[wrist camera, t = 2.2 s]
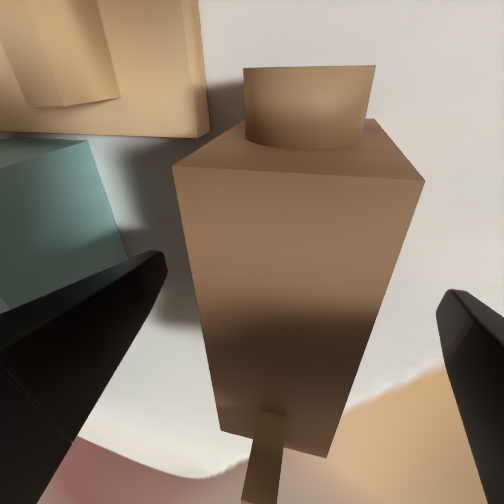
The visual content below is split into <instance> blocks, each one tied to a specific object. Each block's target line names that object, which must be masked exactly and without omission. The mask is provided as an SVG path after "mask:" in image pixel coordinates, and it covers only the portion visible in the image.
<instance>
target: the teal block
mask: <svg viewBox="0 0 504 504" xmlns="http://www.w3.org/2000/svg"><path fill="white" fill-rule="evenodd" d="M126 260H128V257H127V254H126V251H125V248H124V245H123V242H122V239H121V236H120V233H119V230H118V227H117V225H116V222H115V219H114V216H113V213H112V210H111V207H110V204H109V201H108V198H107V195H106V192H105V190H104V187H103V184H102V181H101V178H100V175H99V172H98V169H97V166H96V163H95V160H94V157H93V154H92V152H91V149H90V146H89V143H88V141H84V140H60V139H36V138H12V137H10V138H6V139H1V140H0V314H1V313H3V312H6V311H8V310H11V309H13V308H16V307H18V306H20V305H23V304H25V303H28V302H30V301H32V300H35V299H37V298H39V297H42V296H45V295H47V294H49V293H51V292H54V291H56V290H58V289H61V288H63V287H65V286H68V285H70V284H72V283H75V282H77V281H79V280H81V279H84V278H86V277H88V276H91V275H93V274H95V273H98V272H100V271H102V270H105V269H107V268H109V267H112V266H114V265H116V264H119V263H121V262H123V261H126Z"/></svg>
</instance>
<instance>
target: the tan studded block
mask: <svg viewBox="0 0 504 504" xmlns="http://www.w3.org/2000/svg"><path fill="white" fill-rule="evenodd" d="M375 67H376V65H371V66H314V67H268V68H243V74H244V108H245V119H244V120H243V121H241V122H240V123H238V124H237V125H235V126H233V127H232V128H230V129H229V130H227V131H226V132H224V133H222V134H221V135H219V136H218V137H216V138H215V139H213V140H212V141H210V142H208V143H207V144H205V145H204V146H202V147H201V148H199V149H197V150H196V151H194V152H193V153H191V154H190V155H188V156H186V157H185V158H183V159H182V160H180V161H179V162H177V163H175V164H174V165H172V171H173V177H174V182H175V188H176V193H177V198H178V204H179V209H180V214H181V220H182V225H183V230H184V236H185V241H186V247H187V252H188V257H189V263H190V268H191V273H192V279H193V284H194V289H195V295H196V300H197V306H198V311H199V316H200V322H201V327H202V332H203V338H204V343H205V348H206V354H207V359H208V365H209V370H210V375H211V381H212V386H213V391H214V397H215V402H216V408H217V413H218V418H219V424H220V429H221V431H224V432H228V433H232V434H235V435H239V436H243V437H247V438H251V439H253V443H252V448H251V453H250V458H249V463H248V468H247V472H246V477H245V483H244V487H243V492H242V497H241V504H277V496H278V488H279V480H280V472H281V464H282V455H283V447H285V448H288V449H292V450H296V451H300V452H304V453H307V454H312V455H315V456H319V457H323V458H326V457H327V455H328V452H329V449H330V446H331V443H332V441H333V438H334V435H335V432H336V429H337V427H338V424H339V421H340V418H341V415H342V413H343V410H344V407H345V404H346V401H347V399H348V396H349V393H350V390H351V387H352V385H353V382H354V379H355V376H356V373H357V371H358V368H359V365H360V362H361V359H362V357H363V354H364V351H365V348H366V345H367V343H368V340H369V337H370V334H371V331H372V329H373V326H374V323H375V320H376V317H377V315H378V312H379V309H380V306H381V303H382V301H383V298H384V295H385V292H386V289H387V287H388V284H389V281H390V278H391V276H392V273H393V270H394V267H395V264H396V262H397V259H398V256H399V253H400V250H401V248H402V245H403V242H404V239H405V236H406V234H407V231H408V228H409V225H410V222H411V220H412V217H413V214H414V211H415V208H416V206H417V203H418V200H419V197H420V194H421V192H422V189H423V186H424V183H425V180H424V179H423V177H422V176H421V175H420V174H419V173H418V171H417V170H416V169H415V168H414V166H413V165H412V164H411V163H410V162H409V160H408V159H407V158H406V157H405V156H404V154H403V153H402V152H401V151H400V149H399V148H398V147H397V146H396V145H395V143H394V142H393V141H392V140H391V139H390V137H389V136H388V135H387V134H386V132H385V131H384V130H383V129H382V128H381V126H380V125H379V124H378V123H377V122H376V120H375V119H365V117H366V112H367V107H368V102H369V97H370V92H371V87H372V82H373V77H374V72H375Z"/></svg>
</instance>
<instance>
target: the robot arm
mask: <svg viewBox="0 0 504 504" xmlns="http://www.w3.org/2000/svg"><path fill="white" fill-rule="evenodd" d="M167 273H168V269H167V265H166V261H165V257H164V254H163V252H162V251H157V250H149V251H147V252H144V253H142V254H140V255H137V256H135V257H133V258H130V259H128V260H126V261H123V262H121V263H119V264H116V265H114V266H112V267H109V268H107V269H105V270H102V271H100V272H98V273H95V274H93V275H91V276H88V277H86V278H84V279H81V280H79V281H77V282H75V283H72V284H70V285H68V286H65V287H63V288H61V289H58V290H56V291H54V292H51V293H49V294H47V295H45V296H42V297H39V298H37V299H35V300H32V301H30V302H28V303H25V304H23V305H20V306H18V307H16V308H13V309H11V310H8V311H6V312H3V313H1V314H0V504H37V502H38V501H39V499H40V497H41V496H42V494H43V492H44V490H45V489H46V487H47V485H48V484H49V482H50V480H51V479H52V477H53V475H54V473H55V472H56V470H57V469H58V467H59V465H60V464H61V462H62V460H63V459H64V457H65V455H66V454H67V452H68V450H69V449H70V447H71V445H72V442H73V441H74V440H75V438H76V436H77V435H78V433H79V431H80V430H81V428H82V426H83V425H84V423H85V421H86V420H87V418H88V416H89V414H90V413H91V411H92V409H93V408H94V406H95V404H96V403H97V401H98V399H99V398H100V396H101V394H102V393H103V391H104V389H105V388H106V386H107V384H108V382H109V381H110V379H111V377H112V376H113V374H114V372H115V371H116V369H117V367H118V366H119V364H120V362H121V361H122V359H123V357H124V356H125V354H126V352H127V350H128V349H129V347H130V345H131V344H132V342H133V340H134V339H135V337H136V335H137V334H138V332H139V330H140V329H141V327H142V325H143V324H144V322H145V320H146V318H147V317H148V315H149V313H150V311H151V309H152V307H153V305H154V303H155V301H156V299H157V297H158V294H159V292H160V290H161V288H162V286H163V283H164V281H165V279H166V277H167ZM436 319H437V325H438V330H439V336H440V341H441V347H442V352H443V358H444V362H445V367H446V370H447V374H448V377H449V380H450V383H451V386H452V390H453V393H454V396H455V399H456V403H457V406H458V409H459V412H460V415H461V418H462V421H463V425H464V428H465V431H466V435H467V438H468V441H469V444H470V448H471V451H472V454H473V457H474V460H475V463H476V467H477V470H478V473H479V477H480V480H481V483H482V486H483V489H484V493H485V496H486V499H487V502H488V504H504V317H502V316H501V315H500V314H498V313H497V312H495V311H494V310H492V309H491V308H490V307H488V306H487V305H485V304H484V303H482V302H481V301H480V300H478V299H477V298H475V297H474V296H473V295H471V294H470V293H468V292H467V291H463V290H456V289H449V290H447V291H446V293H445V295H444V296H443V298H442V300H441V302H440V304H439V306H438V308H437V310H436Z"/></svg>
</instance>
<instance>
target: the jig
mask: <svg viewBox="0 0 504 504" xmlns="http://www.w3.org/2000/svg"><path fill="white" fill-rule="evenodd" d="M0 131H14V132H41V133H69V134H96V135H124V136H151V137H178V138H199V137H201V136H203V135H205V134H206V133H208V132H210V122H209V111H208V101H207V91H206V80H205V70H204V59H203V49H202V39H201V28H200V18H199V7H198V0H0Z"/></svg>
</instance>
